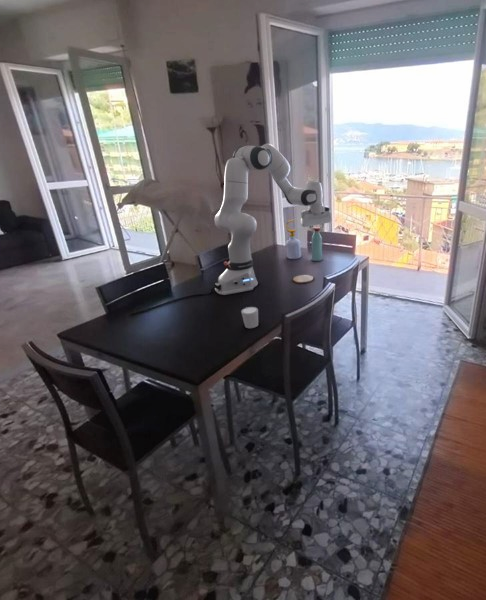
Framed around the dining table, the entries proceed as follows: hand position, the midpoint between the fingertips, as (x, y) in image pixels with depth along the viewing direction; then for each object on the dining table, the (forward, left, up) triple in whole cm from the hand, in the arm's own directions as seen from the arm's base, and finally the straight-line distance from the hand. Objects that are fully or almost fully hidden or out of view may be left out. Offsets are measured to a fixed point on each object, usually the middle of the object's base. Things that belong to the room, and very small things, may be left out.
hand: (317, 231), depth 219 cm
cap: (0, 0, +2) cm, 2 cm away
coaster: (-25, -25, -18) cm, 40 cm away
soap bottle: (-10, +14, -18) cm, 25 cm away
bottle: (-1, 0, -18) cm, 18 cm away
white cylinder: (-68, -57, -18) cm, 91 cm away
